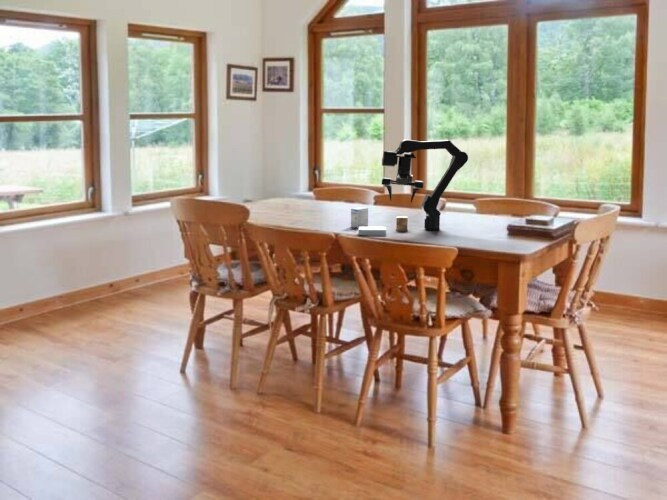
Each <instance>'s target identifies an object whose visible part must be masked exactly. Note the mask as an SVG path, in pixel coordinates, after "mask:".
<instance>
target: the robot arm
mask: <svg viewBox="0 0 667 500" xmlns="http://www.w3.org/2000/svg"><path fill="white" fill-rule="evenodd" d="M421 150H422V151H423V150H424V151H425V150H426V151H427V150H446V152H448V153H449V154H450V155H451V159H450V161H449V162H450V163H449V166H448V168H447V169H446V171H445V172H444V174H443V175H442V176H441V179H440V180H439V182H438V183H437V184H436V186H435V188H434V189H433V190H432V192H431V193H430V194H427V193H426V194H425V196H424V198H423V200H421V205H420V206H421V209H422V210H423V212H425V214H426V215H425V218H424V221H423V222H424V224H423V226H424V228H423V229H424V230H425V231H440V230H441V227H440V225H441V224H440V222H441V214H442V212H440V210H438V209H437V208H438V206H439V202H440V198H441V197H442V195H443V194H444V192H445V191H446V189H447V188H448V186H449V184H450V183H451V182H452V180H453V178H454V176H456V174H457V172H458V171H459V170H460V169H461V168H462V167H464V166H465V165H466V163H467V162H468V160H469V156H468V154H467V152H466V151H463V150H460V149H459V148H458V146H456V145H455V144H454V143H453V142H452V141H451V140H449V139H448V140H447V139H444V140H428V141H427V140H426V141H419V140H414V139H413V140H412V139H402V140H401V141H400V142H399V145H398V147H397V149H395V151H388V150H383V153H382V158H381V166H382V167H393V168H394V167H395V166H396V165H397V173H396V179H392V178H391V177H383V178H382V180H381V185H383V186H384V187H385V188H386V189H387V191H388V195H389V200H390V202H392V199H393V188H392V187H393V186H392V185H398V186H411V187H413V189H412V193H411V198H410V203H413V200H414V198H415V195H416V193H417V192H418V191H420V190H421V189H423V188H424V185H425V183H424V181H423V180H414V181H413V174H411V167H412V159H416V158H417V157H416V155H415V154H414V153H413V152H417V151H421Z"/></svg>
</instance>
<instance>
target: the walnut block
mask: <svg viewBox="0 0 667 500" xmlns="http://www.w3.org/2000/svg"><path fill="white" fill-rule="evenodd" d="M408 218H409V217H408V216H407V215H401V216H400V215H399V216H398V215H397V216H396V228H395V229H396V231H399V232H403V231H406V232H408V220H409V219H408Z"/></svg>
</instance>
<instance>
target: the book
mask: <svg viewBox="0 0 667 500" xmlns="http://www.w3.org/2000/svg"><path fill="white" fill-rule="evenodd" d="M359 235H368V236H369V237H370V236H373V237H375V236H376V237H378V236H379V237H380V236H381V237H382V236H385V237H386V235H387V227H386V226H377V227H373V226H364V227H359V228H358V236H359Z"/></svg>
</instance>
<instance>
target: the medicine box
mask: <svg viewBox="0 0 667 500" xmlns="http://www.w3.org/2000/svg"><path fill="white" fill-rule="evenodd" d="M350 227H351V228H355V227H357V228H356V229H359V227H369V208H368V207H363V206H362V207H355V208H351V209H350Z"/></svg>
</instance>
